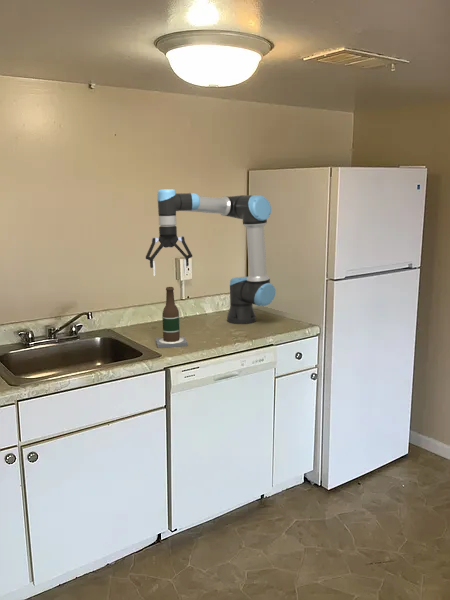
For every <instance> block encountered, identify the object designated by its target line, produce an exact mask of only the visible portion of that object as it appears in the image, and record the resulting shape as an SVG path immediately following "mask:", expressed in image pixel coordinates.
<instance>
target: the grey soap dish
mask: <svg viewBox="0 0 450 600" xmlns="http://www.w3.org/2000/svg"><path fill="white" fill-rule="evenodd" d="M155 343H156V347H157V348H158V349H163V348H177V347H188V341H187V340H186V337H185V336H180V339H179V341H176V342H166V341H164V340H163V337H156V338H155Z"/></svg>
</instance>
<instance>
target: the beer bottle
mask: <svg viewBox="0 0 450 600" xmlns="http://www.w3.org/2000/svg"><path fill="white" fill-rule="evenodd" d="M174 290H175V289H174V287H173V286H167V287H165V292H166V294H165V296H166V298H165V299H166V300H165V306H164V308H163V310H162V320H161V321H162V338H163V340H164V341H166V342H176V341H179V339H180V337H181V336H180V335H181V334H180V312H179V309H178V307H177V306H176V303H175V302H176V301H175V294H174V293H175V292H174Z"/></svg>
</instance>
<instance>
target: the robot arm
mask: <svg viewBox="0 0 450 600" xmlns="http://www.w3.org/2000/svg"><path fill="white" fill-rule="evenodd" d="M157 210H158V211H157V212H158V226H159V227H158V231H159V233H158V234H159V237H154V236H153V237H152V239H151V244H150V246H149V249H148V251H147V253H146V255H145V259H146V260H148V261H149V267H150V269H152V275H153V277H155V276H156V263H155V258H156V256H157V255H159V253H160V252H161V250H162V249H163V248H175V249H177V251H178V252H180V254H181V255H182V256H183V257H184V258H183V274H184V275H187V267H189V263H190V262H189V260H190V258H192V257H193V254H192V251H190V249H189V247H188V244H187V243H186V241H185V236H183V235H182V236H178V234H177V233H178V232H177V231H178V230H177V228H178V227H177V212H192V213H194V212H195V213H205V214H207V213H209V214H218V215H220V216H222V217H228V218H234V219H239V220H242V225H243V226H244V227H245V229H246V230H245V231H246V243H247V245H246V246H247V260H248V261H247V262H248V276H239V277H232V278H230V280H229V305H230V306H229V310H228V313H227V315H226V322H228V323H231V324H237V325H239V324H241V325H244V324H251V323H255V322H256V321H257V315H256V312H255V309H254V307H253V305H255V306H261V307H266V306H268V305H270V304H271V303H272V302H273V300H274V299H275V296H276V288H275V286H274V285H273V284H272V283H271V278H270V276H269V275H268V274H267V258H266V243H265V242H266V241H265V238H266V237H265V226H266V224H267V223H268V222H267V221H268V219H269V217H270V215H271V213H272V205H271V204H270V201H269V199H267V198H266V197H265V196H263V195H257V194H253V195H252V194H251V195H249V194H247V195H235V196H234V195H233V196H225V195H224V196H222V197H215V196H214V197H212V196H202V195H199V194H197V193H194V192H187V193H182V192H181V193H179V192H178V193H176V190H175V188H174V189H173V188H168V189H164V188H163V189H162V188H161V189H158V191H157ZM178 241H179V242H181V244H182V245H183V247H184V249H185V251H186V253H185V252H184V251H183V249H181V247H180V246H179V245H178V244H177V242H178ZM157 242H159V243H160V244H159V245H158V247H157V248H156V250H154V252H153V249H154V247H155V245H156V243H157Z"/></svg>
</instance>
